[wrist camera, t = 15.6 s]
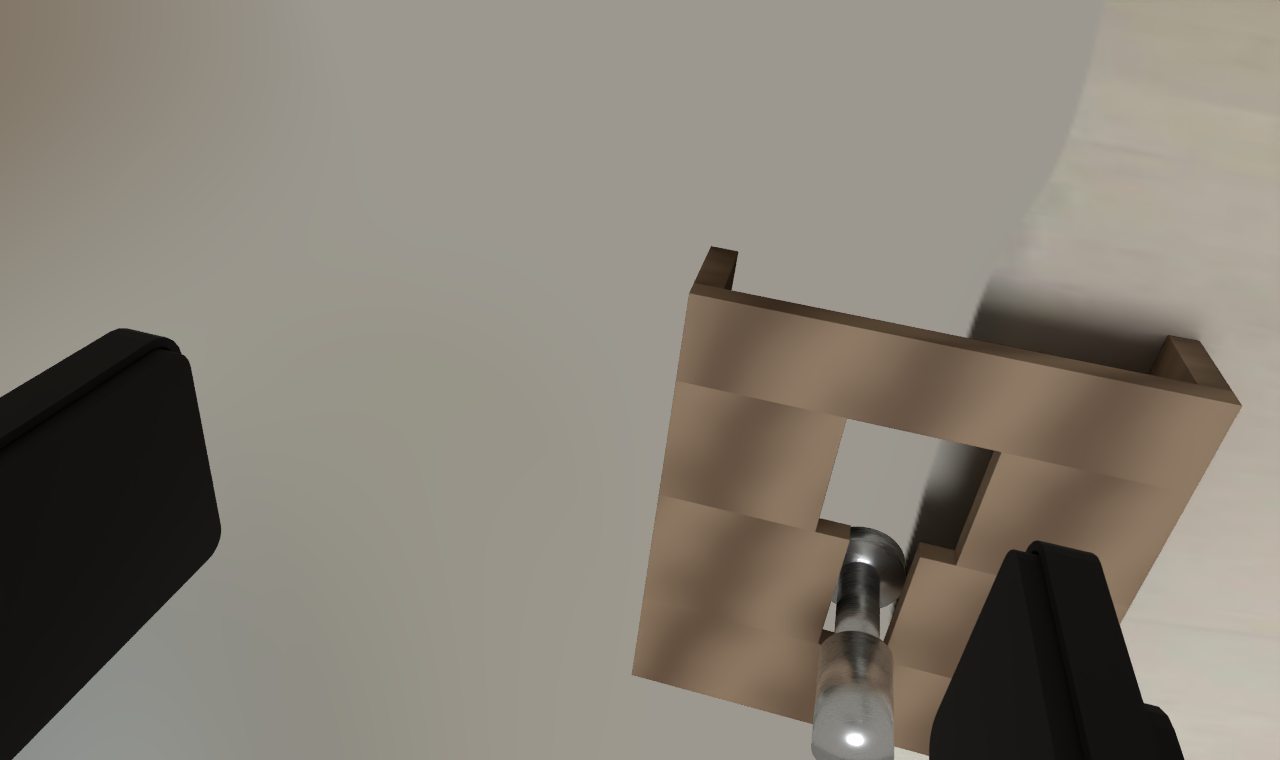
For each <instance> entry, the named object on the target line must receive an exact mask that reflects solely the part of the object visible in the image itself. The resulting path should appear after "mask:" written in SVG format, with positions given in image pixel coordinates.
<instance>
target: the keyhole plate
mask: <svg viewBox="0 0 1280 760" xmlns="http://www.w3.org/2000/svg"><path fill="white" fill-rule="evenodd" d="M737 256H738V251H733V250H727V249H722V248H717V247H712V246H711V248H710V250H709V252H708V254H707V256H706V259H705V261H704V263H703V265H702V267H701V270H700V271H699V274H698V276H697V278H696V280H695V282H694V284H693V286H692V288H691V291H690V293H689V298H688V305H687V311H686V318H685V325H684V331H683V338H682V345H681V351H680V359H679V364H678V371H677V378H676V384H675V391H674V398H673V405H672V411H671V418H670V424H669V431H668V438H667V444H666V451H665V457H664V464H663V471H662V477H661V484H660V491H659V497H658V504H657V511H656V517H655V524H654V530H653V537H652V544H651V550H650V557H649V564H648V570H647V577H646V584H645V590H644V597H643V603H642V610H641V617H640V623H639V631H638V637H637V643H636V650H635V657H634V663H633V670H632V675H635V676H638V677H642V678H646V679H649V680H653V681H657V682H661V683H664V684H668V685H672V686H675V687H679V688H682V689H686V690H690V691H693V692H697V693H701V694H705V695H708V696H712V697H715V698H719V699H723V700H726V701H730V702H734V703H737V704H741V705H745V706H748V707H752V708H756V709H760V710H763V711H767V712H770V713H774V714H778V715H781V716H785V717H789V718H792V719H796V720H800V721H803V722H807V723H811V724H813V720H814V709H815V697H816V686H817V675H818V663H819V652H820V647H821V645H822V643H823V642H824V641H825V640H826V639H827V638H828V637H830V636H831V635H833V634H835V632H831V631H827V630H823V626H824V622H825V619H826V616H827V613H828V610H829V606H830V603H831V600H832V597H833V593H834V590H835V587H836V584H837V580H838V577H839V574H840V571H841V567H842V564H843V561H844V558H845V554H846V551H847V548H848V545H849V541H850V529H851V526H850V525H846V524H842V523H837V522H833V521H829V520H825V519H820V518H819V516H820V513H821V509H822V506H823V502H824V499H825V495H826V491H827V488H828V484H829V481H830V477H831V473H832V469H833V466H834V463H835V459H836V456H837V452H838V448H839V445H840V441H841V438H842V434H843V430H844V427H845V423H846V420H847V418H848V419H853V420H857V421H862V422H866V423H871V424H875V425H880V426H885V427H889V428H894V429H898V430H903V431H907V432H912V433H916V434H921V435H926V436H930V437H935V438H939V439H944V440H948V441H953V442H957V443H962V444H967V445H971V446H976V447H980V448H985V449H989V450H994V452H993V454H992V457H991V459H990V462H989V465H988V467H987V470H986V472H985V475H984V477H983V480H982V482H981V485H980V487H979V490H978V492H977V495H976V498H975V500H974V503H973V505H972V508H971V510H970V513H969V515H968V518H967V520H966V523H965V525H964V528H963V530H962V533H961V536H960V538H959V541H958V543H957V546H956V548H955V550H951V549H947V548H943V547H938V546H934V545H930V544H926V543H922V542H919V545H918V548H917V551H916V553H915V556H914V559H913V562H912V564H911V567H910V570H909V573H908V575H907V578H906V581H905V584H904V586H903V589H902V592H901V595H900V597H899V600H898V603H897V606H896V608H895V611H894V614H893V617H892V619H891V622H890V625H889V628H888V630H887V633H886V636H885V639H884V641H883V642H884V643H885V644H886V645H887V646H888V647H889V649H890V650H891V652H892V655H893V681H894V746H895V747H899V748H902V749H906V750H910V751H913V752H917V753H921V754H924V755H928V756H929V744H930V735H931V729H932V725H933V721H934V718H935V716H936V713H937V711H938V709H939V706H940V704H941V702H942V700H943V697H944V695H945V693H946V690H947V688H948V686H949V684H950V681H951V679H952V677H953V674H954V672H955V670H956V668H957V665H958V663H959V661H960V658H961V656H962V654H963V652H964V649H965V647H966V645H967V642H968V640H969V638H970V635H971V633H972V631H973V629H974V626H975V624H976V622H977V619H978V617H979V615H980V613H981V610H982V608H983V606H984V603H985V601H986V599H987V597H988V594H989V592H990V590H991V587H992V585H993V583H994V581H995V578H996V576H997V574H998V571H999V569H1000V567H1001V565H1002V562H1003V560H1004V558H1005V556H1006V554H1007V553H1008V552H1009V551H1010V550H1012V549H1015V550H1019V551H1023V552H1026V550H1027V548H1028V546H1029V545H1030V544H1031V543H1032V542H1033V541H1037V540H1039V541H1043V542H1048V543H1052V544H1056V545H1060V546H1065V547H1069V548H1073V549H1078V550H1082V551H1086V552H1091V553H1094V554H1095V555H1096V556H1098V558H1099V560H1100V562H1101V565H1102V568H1103V572H1104V575H1105V578H1106V581H1107V585H1108V588H1109V591H1110V595H1111V598H1112V601H1113V605H1114V608H1115V611H1116V614H1117V618H1118V621H1119V624H1120V623H1121V621H1122V620H1123V618H1124V616H1125V614H1126V612H1127V611H1128V609H1129V607H1130V605H1131V603H1132V602H1133V600H1134V598H1135V596H1136V595H1137V593H1138V591H1139V589H1140V587H1141V586H1142V584H1143V582H1144V580H1145V578H1146V577H1147V575H1148V573H1149V571H1150V570H1151V568H1152V566H1153V564H1154V562H1155V561H1156V559H1157V557H1158V555H1159V553H1160V552H1161V550H1162V548H1163V546H1164V545H1165V543H1166V541H1167V539H1168V537H1169V536H1170V534H1171V532H1172V530H1173V528H1174V527H1175V525H1176V523H1177V521H1178V519H1179V518H1180V516H1181V514H1182V512H1183V511H1184V509H1185V507H1186V505H1187V503H1188V502H1189V500H1190V498H1191V496H1192V494H1193V493H1194V491H1195V489H1196V487H1197V486H1198V484H1199V482H1200V480H1201V478H1202V477H1203V475H1204V473H1205V471H1206V469H1207V468H1208V466H1209V464H1210V462H1211V461H1212V459H1213V457H1214V455H1215V453H1216V452H1217V450H1218V448H1219V446H1220V444H1221V443H1222V441H1223V439H1224V437H1225V436H1226V434H1227V432H1228V430H1229V428H1230V427H1231V425H1232V423H1233V421H1234V419H1235V418H1236V416H1237V414H1238V412H1239V411H1240V409H1241V407H1242V405H1241V403H1240V402H1239V400H1238V399H1237V397H1236V396H1235V394H1234V393H1233V391H1232V390H1231V388H1230V387H1229V385H1228V384H1227V382H1226V380H1225V379H1224V377H1223V376H1222V374H1221V373H1220V371H1219V370H1218V368H1217V367H1216V365H1215V364H1214V362H1213V361H1212V359H1211V358H1210V356H1209V355H1208V353H1207V351H1206V350H1205V348H1204V347H1203V345H1202V344H1201V342H1200V341H1195V340H1190V339H1185V338H1179V337H1174V336H1169V335H1168V337H1167V339H1166V341H1165V343H1164V345H1163V347H1162V350H1161V352H1160V354H1159V356H1158V358H1157V360H1156V362H1155V364H1154V366H1153V368H1152V370H1151V372H1150V374H1149V375H1148V374H1143V373H1138V372H1133V371H1128V370H1123V369H1118V368H1113V367H1108V366H1103V365H1098V364H1093V363H1088V362H1083V361H1078V360H1073V359H1069V358H1064V357H1059V356H1054V355H1049V354H1044V353H1039V352H1034V351H1029V350H1024V349H1019V348H1014V347H1009V346H1004V345H999V344H994V343H989V342H984V341H979V340H974V339H969V338H964V337H959V336H954V335H949V334H945V333H939V332H935V331H930V330H924V329H919V328H915V327H910V326H905V325H900V324H895V323H890V322H885V321H880V320H875V319H870V318H865V317H860V316H855V315H850V314H845V313H840V312H835V311H830V310H826V309H820V308H815V307H810V306H806V305H801V304H795V303H791V302H786V301H781V300H776V299H771V298H766V297H761V296H756V295H751V294H746V293H741V292H736V291H731V290H732V284H733V278H734V273H735V268H736V262H737Z"/></svg>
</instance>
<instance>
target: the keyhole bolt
mask: <svg viewBox="0 0 1280 760" xmlns="http://www.w3.org/2000/svg"><path fill="white" fill-rule="evenodd" d="M905 580H906V577H905V558H904V554H903V552H902V550H901V548H900V547H899V545H898V544H897V543H896V542H895V541H894V540H893V539H892V538H890V537H889V536H888V535H886V534H884V533H882V532H880V531H878V530H875V529H871V528H866V527H851V529H850V541H849V545H848V548H847V551H846V554H845V558H844V561H843V564H842V567H841V571H840V574H839V577H838V580H837V584H836V587H835V590H834V593H833V597H832V600H831V601H832V602H834V603H836V604H837V605H836V620H835V634H833V635H831V636H830V637H828V638H827V639H826V640H825V641H824V642H823V643H822V645H821V647H820V652H819V663H818V675H817V686H816V697H815V709H814V720H813V732H812V744H811V749H812V753H813V755H814V757H815V759H816V760H894V681H893V655H892V652H891V650H890V649H889V647H888V646H887V645H886V644H885V643H884V642H883V641H882V640H880V639H879V636H880V633H879V632H880V608H882V607H885V606H887V605H889V604H891V603H892V602H894V601H895V600H896V599H897V598H898V597H899V596H900V595H901V592H902V589H903V586H904V584H905Z"/></svg>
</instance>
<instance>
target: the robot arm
mask: <svg viewBox="0 0 1280 760" xmlns="http://www.w3.org/2000/svg"><path fill="white" fill-rule="evenodd" d="M220 536H221V524H220V519H219V514H218V508H217V503H216V497H215V492H214V487H213V482H212V476H211V471H210V466H209V461H208V455H207V450H206V445H205V439H204V435H203V429H202V424H201V418H200V413H199V408H198V403H197V397H196V392H195V387H194V382H193V376H192V371H191V367H190V363H189V361H188V359H187V358H186V357H185V356H184V355H182V354H181V352H180V349H179V347H178V346H177V345H176V343H175V342H174V341H173V340H171V339H168V338H166V337H161V336H157V335H153V334H149V333H144V332H140V331H135V330H131V329H125V328H124V329H123V328H122V329H120V328H119V329H116V330H114V331H111V332H109V333H107V334H106V335H104V336H102V337H101V338H99V339H97V340H96V341H94V342H92V343H91V344H89V345H87V346H86V347H84V348H82V349H81V350H79V351H77V352H76V353H74V354H72V355H71V356H69V357H67V358H66V359H64V360H62V361H61V362H59V363H57V364H56V365H54V366H52V367H51V368H49V369H47V370H45V371H44V372H42V373H41V374H39V375H37V376H35V377H34V378H32V379H30V380H29V381H27V382H25V383H24V384H22V385H20V386H19V387H17V388H15V389H14V390H12V391H10V392H9V393H7V394H5V395H4V396H2V397H0V760H12V759H13V758H14V757H15V756H16V755H17V754H18V753H19V752H20V751H21V750H22V749H23V748H24V747H25V746H26V745H27V744H28V743H29V742H30V741H31V739H33V738H34V736H35V735H36V734H37V733H38V732H39V731H40V730H41V729H42V728H43V727H44V726H45V725H46V724H47V723H48V722H49V721H50V720H51V719H52V718H53V717H54V716H55V715H56V714H57V713H58V712H59V711H60V710H61V709H62V708H63V707H64V706H65V705H66V704H67V703H68V702H69V701H70V700H71V699H72V698H73V697H74V696H75V695H76V694H77V693H78V692H79V691H80V690H81V689H82V688H83V687H84V686H85V684H87V682H88V681H89V680H90V679H91V678H92V677H93V676H94V675H95V674H96V673H97V672H98V671H99V670H100V669H101V668H102V667H103V666H104V665H105V664H106V663H107V662H108V661H109V660H110V659H111V658H112V657H113V656H114V655H115V654H116V653H117V652H118V651H119V650H120V649H121V648H122V647H123V646H124V645H125V644H126V643H127V642H128V641H129V640H130V639H131V638H132V637H133V636H134V635H135V634H136V633H137V631H138V630H139V629H141V627H142V626H143V625H144V624H145V623H146V622H147V621H148V620H149V619H150V618H151V617H152V616H153V615H154V614H155V613H156V612H157V611H158V610H159V609H160V608H161V607H162V606H163V605H164V604H165V603H166V602H167V601H168V600H169V599H170V598H171V597H172V596H173V595H174V594H175V593H176V592H177V591H178V590H179V589H180V588H181V587H182V586H183V584H185V583H186V582H187V581H188V580H189V579H190V578H191V577H192V576H193V575H194V573H196V571H197V570H198V569H199V568H200V567H201V566H202V565H203V564H204V563H205V562H206V561H207V560H208V559H209V558H210V557H211V556H212V554H213V553H214V551H215V549H216V548H217V546H218V543H219V540H220ZM929 760H1184V757H1183V754H1182V751H1181V748H1180V745H1179V742H1178V739H1177V736H1176V733H1175V730H1174V728H1173V726H1172V724H1171V722H1170V720H1169V717H1168V716H1167V715H1166V714H1165V713H1164V712H1163V711H1162V710H1161V709H1160V708H1159V707H1157V706H1153V705H1149V704H1146V703H1143V700H1142V697H1141V693H1140V690H1139V687H1138V683H1137V680H1136V677H1135V674H1134V670H1133V667H1132V664H1131V660H1130V657H1129V654H1128V651H1127V647H1126V644H1125V641H1124V637H1123V634H1122V631H1121V628H1120V624H1119V621H1118V618H1117V614H1116V611H1115V608H1114V605H1113V601H1112V598H1111V595H1110V591H1109V588H1108V585H1107V581H1106V578H1105V575H1104V572H1103V568H1102V565H1101V562H1100V560H1099V558H1098V556H1096V555H1095V554H1094V553H1091V552H1086V551H1082V550H1078V549H1073V548H1069V547H1065V546H1060V545H1056V544H1052V543H1048V542H1043V541H1039V540H1037V541H1033V542H1032V543H1031V544H1030V545H1029V546H1028V548H1027V550H1026V552H1023V551H1019V550H1015V549H1012V550H1010V551H1009V552H1008V553H1007V554H1006V556H1005V558H1004V560H1003V562H1002V565H1001V567H1000V569H999V571H998V574H997V576H996V578H995V581H994V583H993V585H992V587H991V590H990V592H989V594H988V597H987V599H986V601H985V603H984V606H983V608H982V610H981V613H980V615H979V617H978V619H977V622H976V624H975V626H974V629H973V631H972V633H971V635H970V638H969V640H968V642H967V645H966V647H965V649H964V652H963V654H962V656H961V658H960V661H959V663H958V665H957V668H956V670H955V672H954V674H953V677H952V679H951V681H950V684H949V686H948V688H947V690H946V693H945V695H944V697H943V700H942V702H941V704H940V706H939V709H938V711H937V713H936V716H935V718H934V721H933V725H932V729H931V735H930V744H929Z"/></svg>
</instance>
